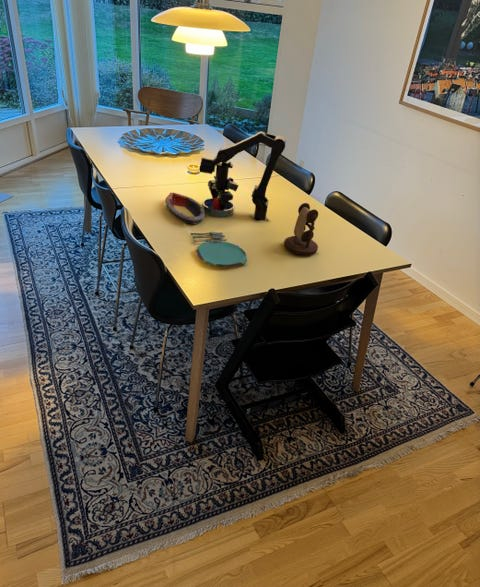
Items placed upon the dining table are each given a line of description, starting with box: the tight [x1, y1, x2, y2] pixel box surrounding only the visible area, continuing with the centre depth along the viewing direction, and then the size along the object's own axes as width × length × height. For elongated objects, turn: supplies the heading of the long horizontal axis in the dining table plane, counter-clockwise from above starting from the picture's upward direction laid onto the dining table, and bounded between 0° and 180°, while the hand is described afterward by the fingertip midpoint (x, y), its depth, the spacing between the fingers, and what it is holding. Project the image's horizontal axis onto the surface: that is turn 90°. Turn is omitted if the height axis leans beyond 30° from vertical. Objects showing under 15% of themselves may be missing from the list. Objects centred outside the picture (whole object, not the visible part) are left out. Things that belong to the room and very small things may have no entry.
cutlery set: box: [190, 231, 248, 267], centre depth 183 cm, size 20×30×2 cm, turn 19°
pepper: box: [213, 197, 224, 210], centre depth 215 cm, size 5×5×7 cm
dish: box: [164, 191, 206, 225], centre depth 210 cm, size 16×31×5 cm, turn 26°
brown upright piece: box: [283, 202, 319, 256], centre depth 190 cm, size 15×15×20 cm
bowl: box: [201, 197, 235, 219], centre depth 216 cm, size 15×15×4 cm
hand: (218, 206), depth 216 cm, fingers open, 9 cm apart
